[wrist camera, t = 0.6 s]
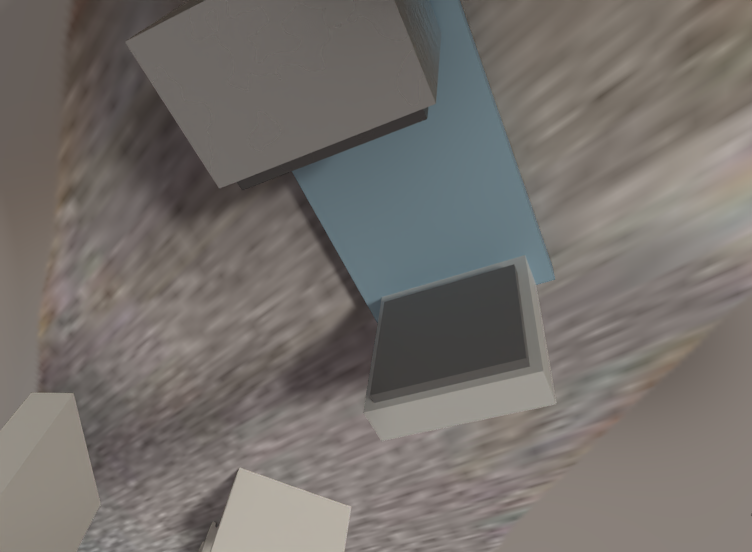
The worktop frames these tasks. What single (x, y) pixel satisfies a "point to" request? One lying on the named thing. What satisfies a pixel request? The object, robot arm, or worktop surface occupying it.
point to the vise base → (442, 255)
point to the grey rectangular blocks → (277, 519)
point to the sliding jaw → (290, 78)
